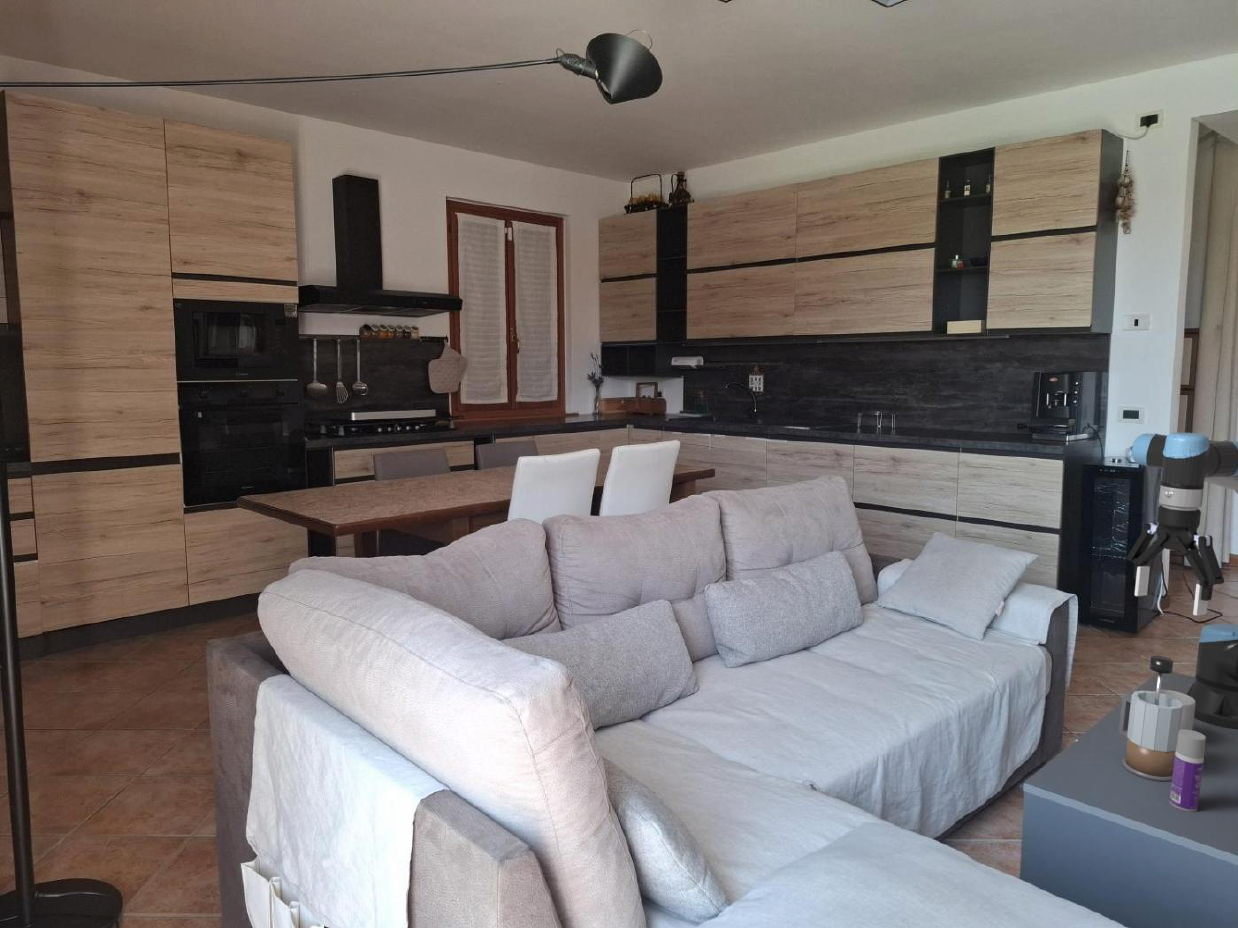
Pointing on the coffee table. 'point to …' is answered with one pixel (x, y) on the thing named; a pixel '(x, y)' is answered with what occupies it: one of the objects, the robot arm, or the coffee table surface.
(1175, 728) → the carafe
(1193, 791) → the container
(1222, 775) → the coffee table surface
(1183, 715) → the mug
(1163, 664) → the plunger
